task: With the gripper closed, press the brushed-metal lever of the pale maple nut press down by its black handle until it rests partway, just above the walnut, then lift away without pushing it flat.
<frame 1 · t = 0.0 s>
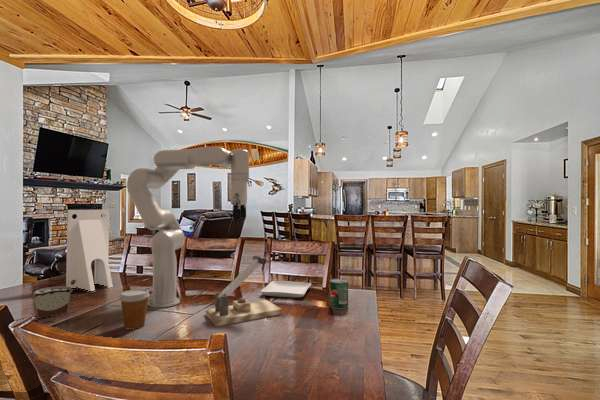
hand: (239, 218, 139), 37 cm above the table, tool pointing down, fingers open, 9 cm apart
white arched stand: (94, 288, 166), on the table
salad plate: (287, 293, 160), on the table
disposable coffee cup: (134, 327, 114), on the table
press base: (244, 314, 127), on the table
food container: (51, 314, 126), on the table
canned tomato: (338, 306, 139), on the table
press lever: (242, 277, 127), point 15 cm above the table, hinge at 40.0°
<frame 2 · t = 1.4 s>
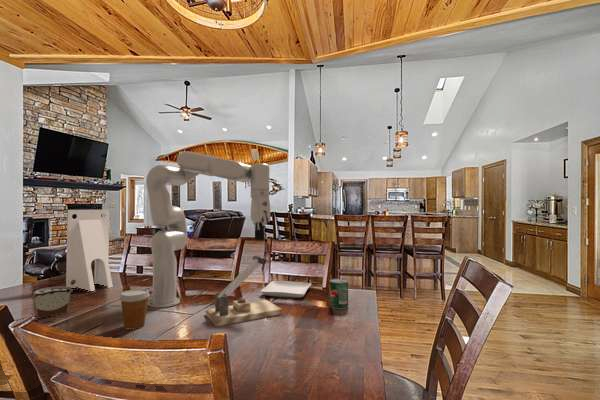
hand: (259, 239, 131), 29 cm above the table, tool pointing down, fingers closed
nothing on the table moved.
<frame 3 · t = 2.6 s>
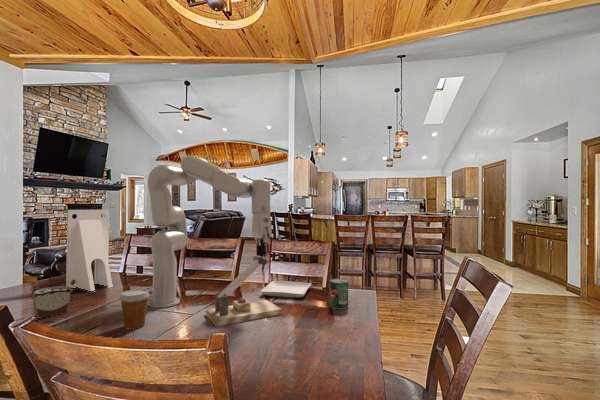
hand: (260, 255, 131), 23 cm above the table, tool pointing down, fingers closed
press lever: (242, 277, 127), point 15 cm above the table, hinge at 39.0°, touching gripper
everything else where it was.
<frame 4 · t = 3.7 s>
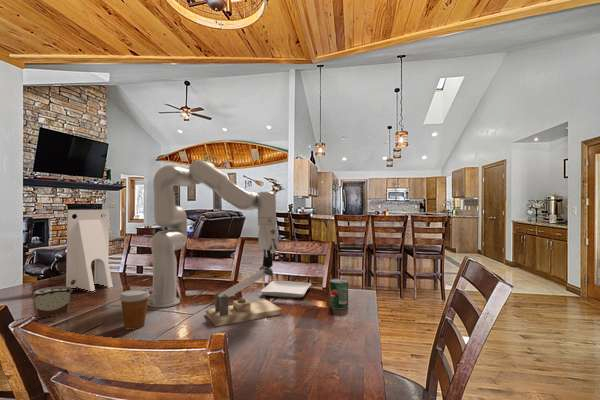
hand: (268, 266, 133), 18 cm above the table, tool pointing down, fingers closed
press lever: (245, 282, 128), point 12 cm above the table, hinge at 23.9°, touching gripper
everything else where it was.
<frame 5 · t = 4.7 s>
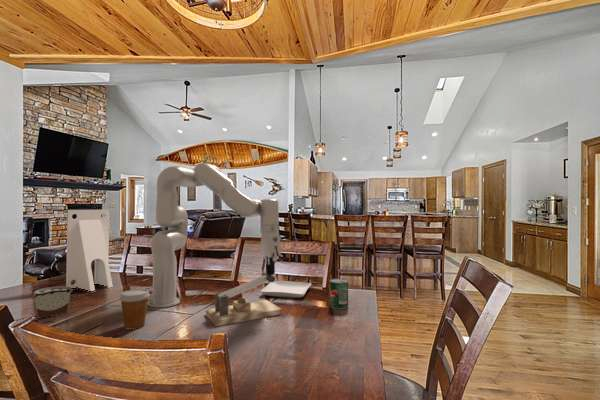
hand: (270, 273, 133), 15 cm above the table, tool pointing down, fingers closed
press lever: (247, 286, 128), point 11 cm above the table, hinge at 15.6°, touching gripper
everything else where it was.
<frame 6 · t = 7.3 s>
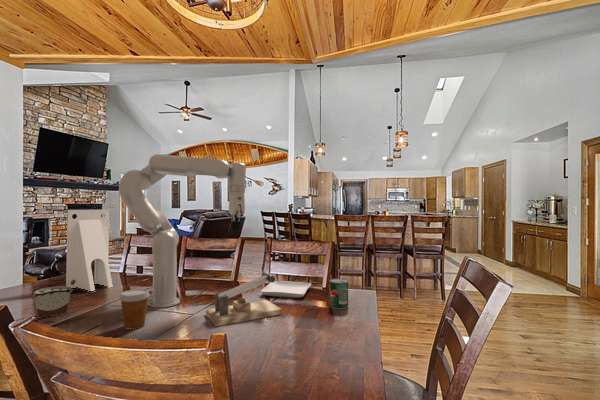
hand: (235, 229, 148), 32 cm above the table, tool pointing down, fingers closed
press lever: (247, 286, 128), point 11 cm above the table, hinge at 15.5°
everything else where it was.
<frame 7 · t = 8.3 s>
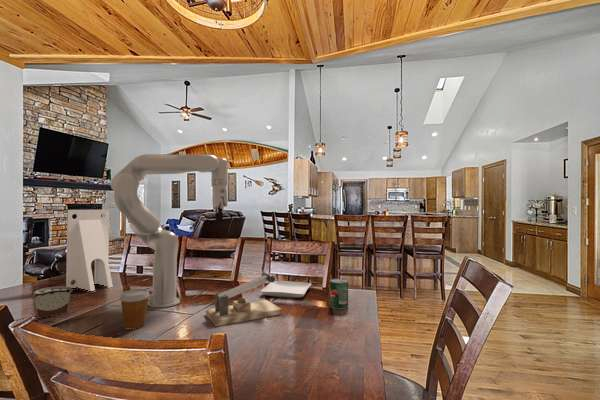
hand: (218, 221, 158), 35 cm above the table, tool pointing down, fingers closed
nothing on the table moved.
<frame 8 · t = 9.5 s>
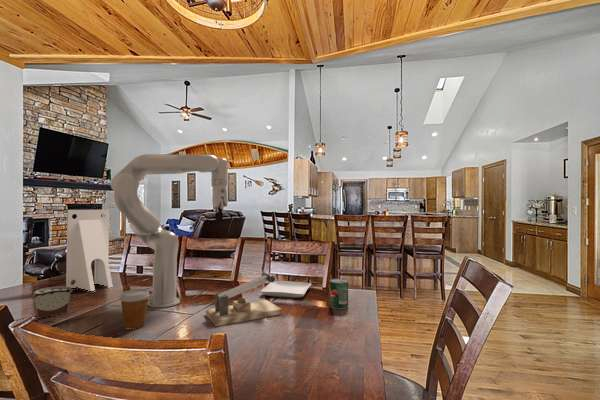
hand: (218, 221, 158), 35 cm above the table, tool pointing down, fingers closed
nothing on the table moved.
at the end: press lever at +16° (first picture: +40°); the gripper is holding nothing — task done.
